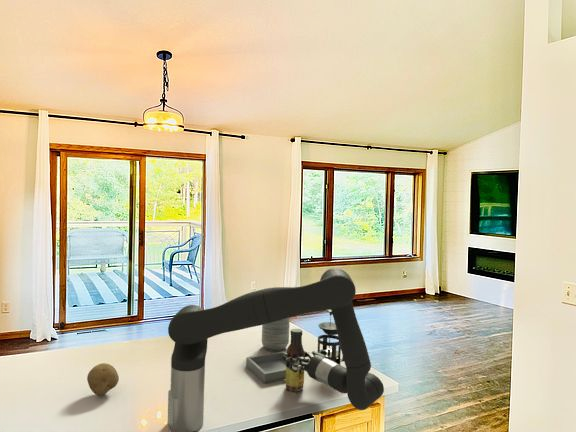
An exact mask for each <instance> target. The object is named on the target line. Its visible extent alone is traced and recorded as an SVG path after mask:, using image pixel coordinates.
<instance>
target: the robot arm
mask: <svg viewBox="0 0 576 432" xmlns="http://www.w3.org/2000/svg"><path fill="white" fill-rule="evenodd" d="M356 289H357V288H356V285H355V283H354V281H353V280H352V278H351V276H350V275H349V274H348V273H347V271H345V270H344V269H341V268H338V267H333V268H332V267H331V268H329V269H327V270H325V272H323V273H322V275H321V277H320V279H319V281H315V282H313V283H309V284H306V285H303V286H302V285H301V286H290V287H289V286H281V287H280V286H274V287H268V288H264V289H258V290H254V291H251V292H248V293H245V294H243V295H240V296H237V297H236V298H233V299H231V300H229V301H227V302H225V303H223V304H220V305H217V306H215V307H214V306H213V307H211V308H206V309H204V308H202V307H200V306H199V305H195V304H190V305H186V306H184V307H181V308H180V309H179V310H178V312H176V314H174V315H173V317H172V318H171V320H170V321H169V324H168V326H167V327H168V329H167V333H168V336H169V338H170V339H171V340H172V341H173V342H174V346H173V350H172V353H171V358H170V389H169V390H167V391H168V392H167V393H168V394H167V395H168V396H167V425H168V427H169V429H170V431H171V432H197V431H199V430H200V429H201V428H202V427H203V425H204V416H205V415H204V409H205V408H204V407H205V406H204V404H205V376H206V375H205V374H206V373H205V371H206V357H207V351H208V339H209V338H212V337H215V336H218V335H222V334H224V333H229V332H230V333H231V332H235V331H240V330H245V329H248V328H253V327H258V326H262V325H264V324H268V323H271V322H275V321H279V320H282V319H286V318H292V317H298V316H300V315H304V314H308V313H313V312H321V311H325V310H328V309H331V312H332V315H331V316H332V318H333V321H334V323H335V325H336V329H337V333H338V334H337V336H338V338H339V340H338V342H339V343H340V347H341V354H342V356H343V358H344V361H343V362H344V365H345V366H343V365H341V364H340V365H339V364H337V363H336V362H334V361H332V360H330V359H328V358H326V355H323V354H320V353H318V352H317V351H315V350H313V351H306V350H304V352H305V358H304V357H299V356H297V357H292V356H290V355H288V354H286V353H287V352H285V353H283V360H284V361H286V367H288V368H289V369H290V370H292V371H293V372H297V371H298V369H301V370H304V372H306V373H307V375H308V377H310V379H313V380H315V381H317V382H318V383H321V384H323V386H326V387H329V388H332V389H333V390H335V391H337V392H339V393H341V394H347V397H348V401H349V402H350V404H351V405H352V406H353V407H354V408H355V409H357V410H359V411H365V410H366V409H368V408H369V407H370V406H372V405H373V404H374V403H375V402H376V401H377V400H380V398H381V397H382V396H383V395H384V392H385V387H384V384H383V382H382V380H381V379H380V378H379V377H378V376H377V375H376V374H373V373H371V372H370V371H371V368H372V363H371V359H370V355H369V351H368V347H367V344H366V341H365V339H364V336H363V333H362V330H361V328H360V324H359V322H358V318H357V317H356V313H355V308H354V304H353V301H354V299H355V296H356V291H357V290H356ZM293 360H295V362H294V361H293ZM299 360H300V365H299V364H298V362H299Z"/></svg>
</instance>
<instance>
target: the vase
mask: <svg viewBox="0 0 576 432" xmlns="http://www.w3.org/2000/svg"><path fill="white" fill-rule="evenodd" d="M290 318H291V317H290ZM290 318H286V319H282V320H279V321H275V322H271V323H268V324H264V325H261V343H262V346H264V349H265V350H267V351H270V352H274V353H276V352H282V351H284V350H286V347H287V348H288V345H289V340H290V323H291V322H290V320H291V319H290Z"/></svg>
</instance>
